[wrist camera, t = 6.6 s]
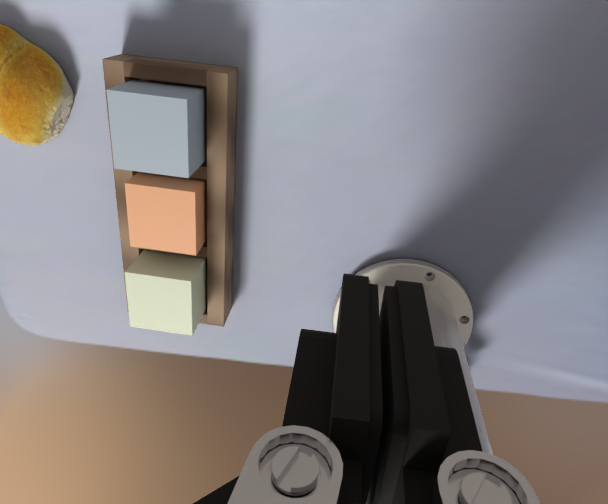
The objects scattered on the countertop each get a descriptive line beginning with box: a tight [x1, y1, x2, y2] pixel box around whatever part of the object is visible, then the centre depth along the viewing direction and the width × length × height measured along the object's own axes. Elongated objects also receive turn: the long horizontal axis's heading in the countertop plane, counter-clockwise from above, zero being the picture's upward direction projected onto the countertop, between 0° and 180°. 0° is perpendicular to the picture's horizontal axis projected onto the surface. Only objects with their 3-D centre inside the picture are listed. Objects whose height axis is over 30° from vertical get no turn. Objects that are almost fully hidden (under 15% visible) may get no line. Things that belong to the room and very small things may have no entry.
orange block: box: [125, 172, 207, 256], centre depth 39 cm, size 5×5×4 cm
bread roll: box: [0, 24, 74, 145], centre depth 37 cm, size 8×9×4 cm
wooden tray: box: [102, 54, 238, 327], centre depth 41 cm, size 22×9×3 cm, turn 174°
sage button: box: [125, 249, 206, 336], centre depth 41 cm, size 5×5×4 cm
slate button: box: [106, 80, 205, 178], centre depth 35 cm, size 5×5×4 cm
